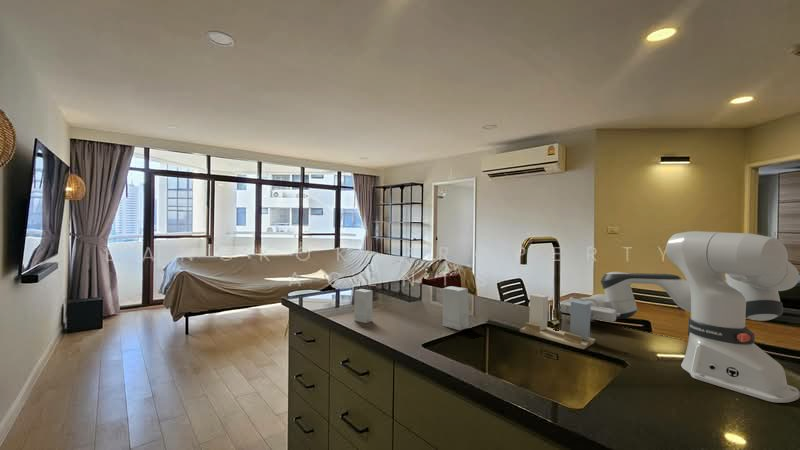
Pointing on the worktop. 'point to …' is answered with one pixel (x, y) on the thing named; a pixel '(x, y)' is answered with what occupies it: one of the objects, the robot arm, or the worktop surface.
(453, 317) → the skincare box
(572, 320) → the slate blue key
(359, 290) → the skincare box
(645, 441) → the worktop surface
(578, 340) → the switch base
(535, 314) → the ivory key
